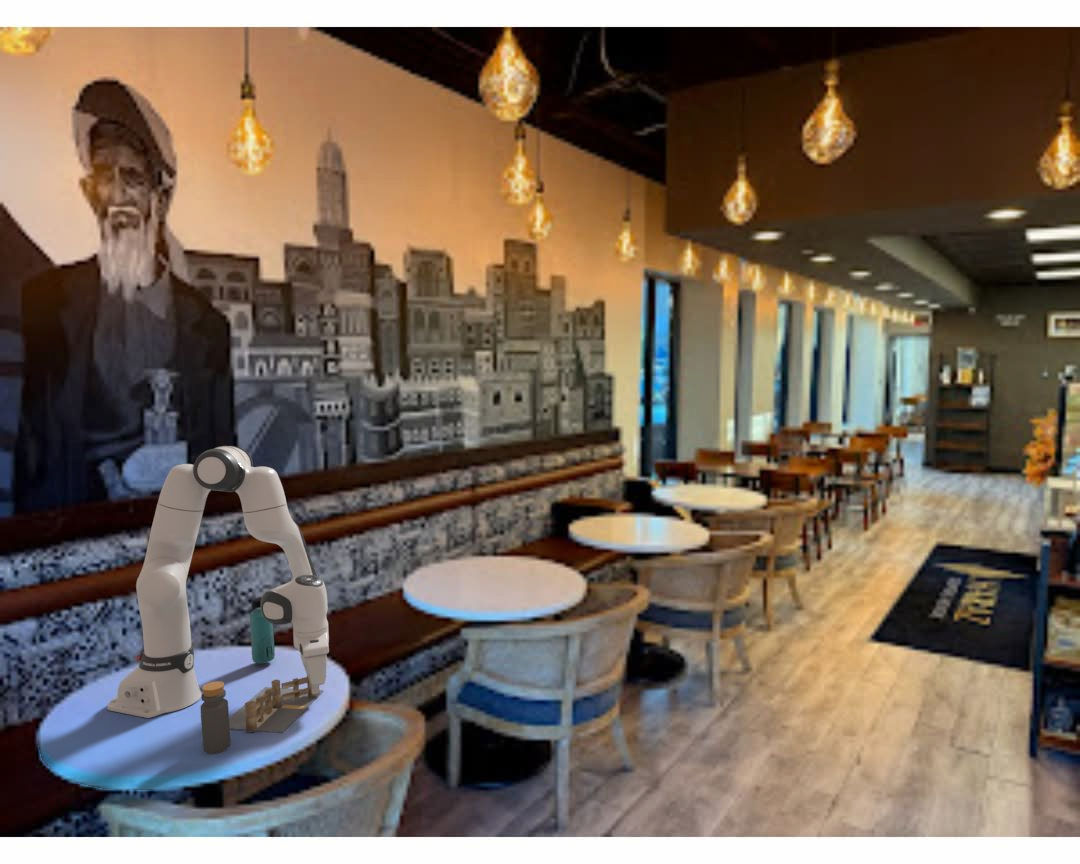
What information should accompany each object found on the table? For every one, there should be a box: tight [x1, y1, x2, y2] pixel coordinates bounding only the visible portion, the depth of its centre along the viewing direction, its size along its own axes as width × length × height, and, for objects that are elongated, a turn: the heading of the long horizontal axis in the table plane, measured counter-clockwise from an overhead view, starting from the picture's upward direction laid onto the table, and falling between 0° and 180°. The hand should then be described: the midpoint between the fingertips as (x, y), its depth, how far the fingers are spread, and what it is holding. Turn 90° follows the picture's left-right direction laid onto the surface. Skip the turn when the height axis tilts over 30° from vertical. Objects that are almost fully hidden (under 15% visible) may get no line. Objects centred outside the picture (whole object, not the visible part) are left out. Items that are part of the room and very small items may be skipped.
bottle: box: [200, 681, 231, 755], centre depth 165 cm, size 6×6×15 cm
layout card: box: [229, 686, 324, 734], centre depth 184 cm, size 17×22×1 cm
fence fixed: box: [244, 679, 281, 733], centre depth 179 cm, size 2×14×7 cm, turn 171°
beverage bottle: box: [249, 596, 276, 664], centre depth 212 cm, size 6×7×20 cm
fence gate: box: [280, 675, 321, 700], centre depth 188 cm, size 3×10×7 cm, turn 124°
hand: (313, 687), depth 189 cm, fingers open, 5 cm apart
